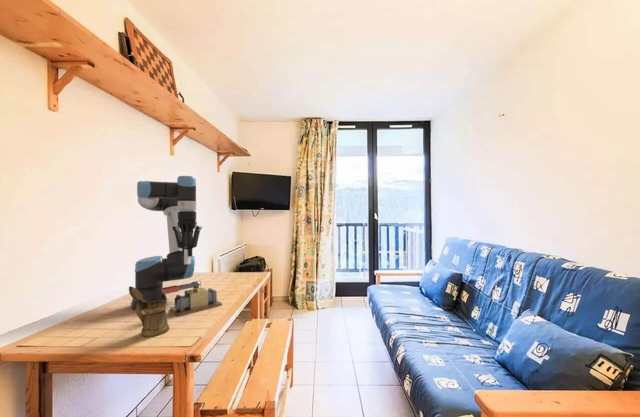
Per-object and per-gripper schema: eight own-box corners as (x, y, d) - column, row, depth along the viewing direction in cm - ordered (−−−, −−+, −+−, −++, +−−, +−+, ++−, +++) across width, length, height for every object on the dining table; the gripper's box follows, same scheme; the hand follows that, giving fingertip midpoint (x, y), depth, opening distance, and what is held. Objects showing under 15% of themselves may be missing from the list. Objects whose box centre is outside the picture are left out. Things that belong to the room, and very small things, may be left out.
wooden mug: (134, 329, 109) (134, 283, 109) (172, 325, 111) (171, 281, 112) (123, 339, 100) (123, 289, 100) (164, 335, 103) (164, 286, 103)
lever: (198, 285, 135) (198, 280, 135) (202, 286, 133) (202, 281, 133) (161, 292, 123) (161, 287, 123) (164, 294, 120) (164, 289, 120)
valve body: (169, 309, 130) (169, 288, 130) (211, 299, 144) (211, 280, 144) (178, 316, 121) (177, 293, 121) (222, 305, 135) (221, 284, 135)
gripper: (167, 211, 120) (168, 265, 120) (195, 210, 119) (196, 265, 118) (178, 211, 128) (179, 262, 127) (205, 210, 126) (205, 262, 126)
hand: (187, 263), depth 123 cm, fingers closed
